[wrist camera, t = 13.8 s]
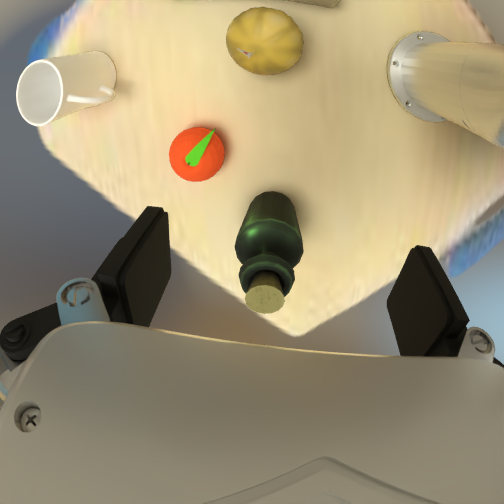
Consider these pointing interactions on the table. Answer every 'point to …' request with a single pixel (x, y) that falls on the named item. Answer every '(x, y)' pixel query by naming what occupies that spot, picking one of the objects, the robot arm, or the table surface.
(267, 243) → the potion bottle
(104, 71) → the mug
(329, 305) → the table surface
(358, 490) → the robot arm
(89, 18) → the table surface
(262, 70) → the burger with flag pick
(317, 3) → the frame
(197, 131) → the clementine
